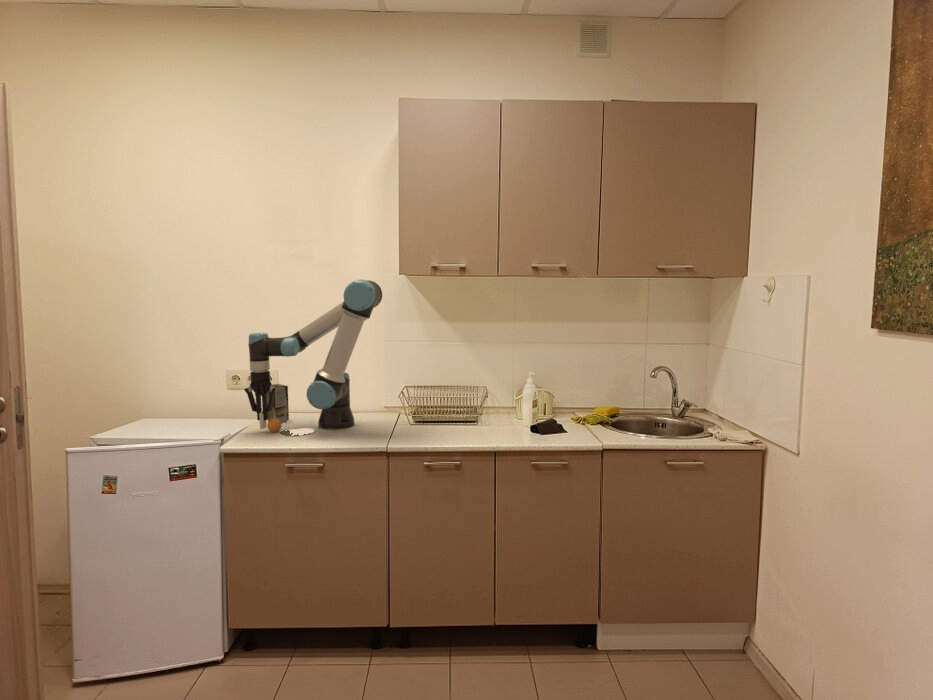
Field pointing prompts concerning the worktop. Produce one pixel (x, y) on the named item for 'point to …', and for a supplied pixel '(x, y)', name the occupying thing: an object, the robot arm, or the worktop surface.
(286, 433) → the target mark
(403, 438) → the worktop surface
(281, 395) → the coffee box
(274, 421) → the ball
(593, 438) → the worktop surface
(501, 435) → the worktop surface
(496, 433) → the worktop surface
